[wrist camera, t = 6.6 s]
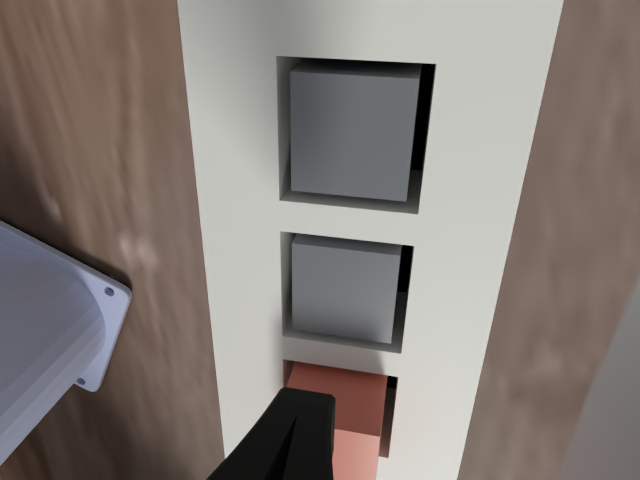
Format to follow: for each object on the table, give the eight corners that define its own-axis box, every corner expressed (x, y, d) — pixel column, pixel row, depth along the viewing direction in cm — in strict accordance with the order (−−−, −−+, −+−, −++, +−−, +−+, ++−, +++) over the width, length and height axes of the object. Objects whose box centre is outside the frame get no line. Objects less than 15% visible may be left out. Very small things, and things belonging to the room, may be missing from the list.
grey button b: (398, 283, 21) (390, 343, 18) (315, 273, 22) (292, 329, 18) (406, 206, 20) (400, 255, 16) (316, 197, 20) (291, 243, 17)
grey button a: (411, 159, 19) (406, 201, 15) (317, 151, 19) (291, 190, 16) (422, 57, 17) (419, 79, 14) (318, 52, 18) (290, 71, 14)
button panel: (448, 432, 25) (450, 507, 21) (253, 399, 26) (225, 463, 23) (540, -32, 15) (571, -33, 12) (227, -37, 17) (173, -40, 13)
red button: (382, 421, 22) (372, 506, 18) (301, 407, 22) (277, 486, 19) (389, 356, 20) (380, 436, 17) (302, 343, 21) (274, 418, 17)
